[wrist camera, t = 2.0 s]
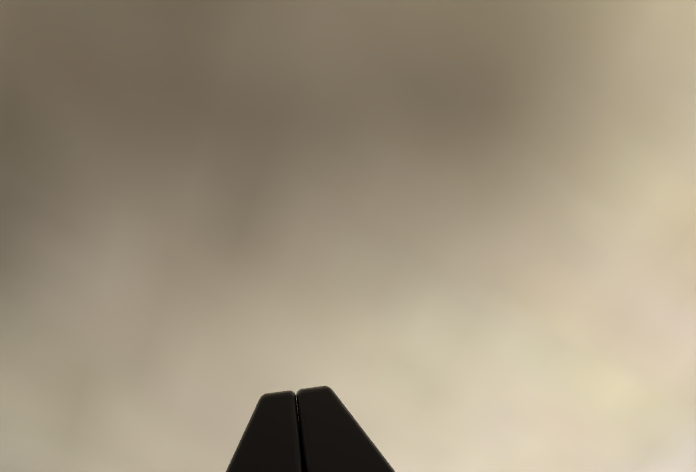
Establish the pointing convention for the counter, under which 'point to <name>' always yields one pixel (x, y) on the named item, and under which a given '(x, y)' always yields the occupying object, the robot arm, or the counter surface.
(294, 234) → the counter surface
